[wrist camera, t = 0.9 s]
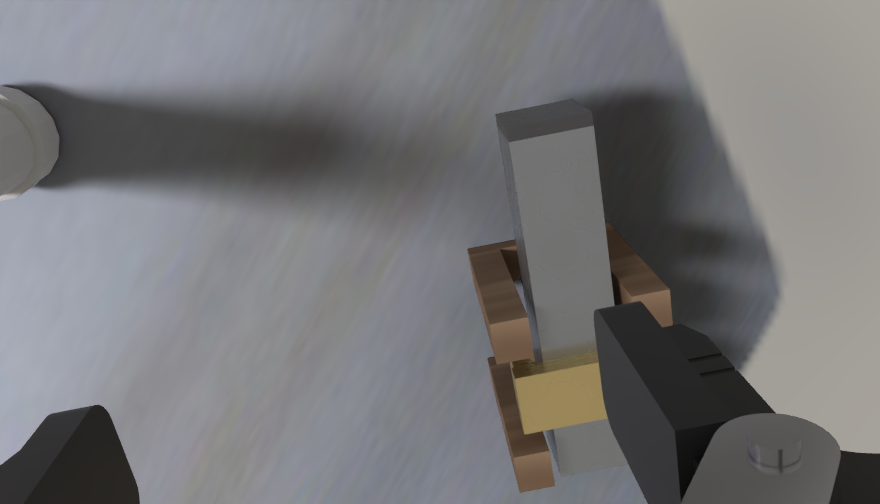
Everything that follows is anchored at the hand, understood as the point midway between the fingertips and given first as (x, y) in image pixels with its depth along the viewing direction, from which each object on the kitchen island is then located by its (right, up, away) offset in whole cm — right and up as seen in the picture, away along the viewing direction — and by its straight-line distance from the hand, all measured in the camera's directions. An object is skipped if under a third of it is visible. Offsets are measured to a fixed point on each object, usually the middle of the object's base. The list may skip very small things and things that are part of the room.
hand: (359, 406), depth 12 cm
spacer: (+8, -3, +25) cm, 27 cm away
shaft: (+7, +1, +25) cm, 26 cm away
